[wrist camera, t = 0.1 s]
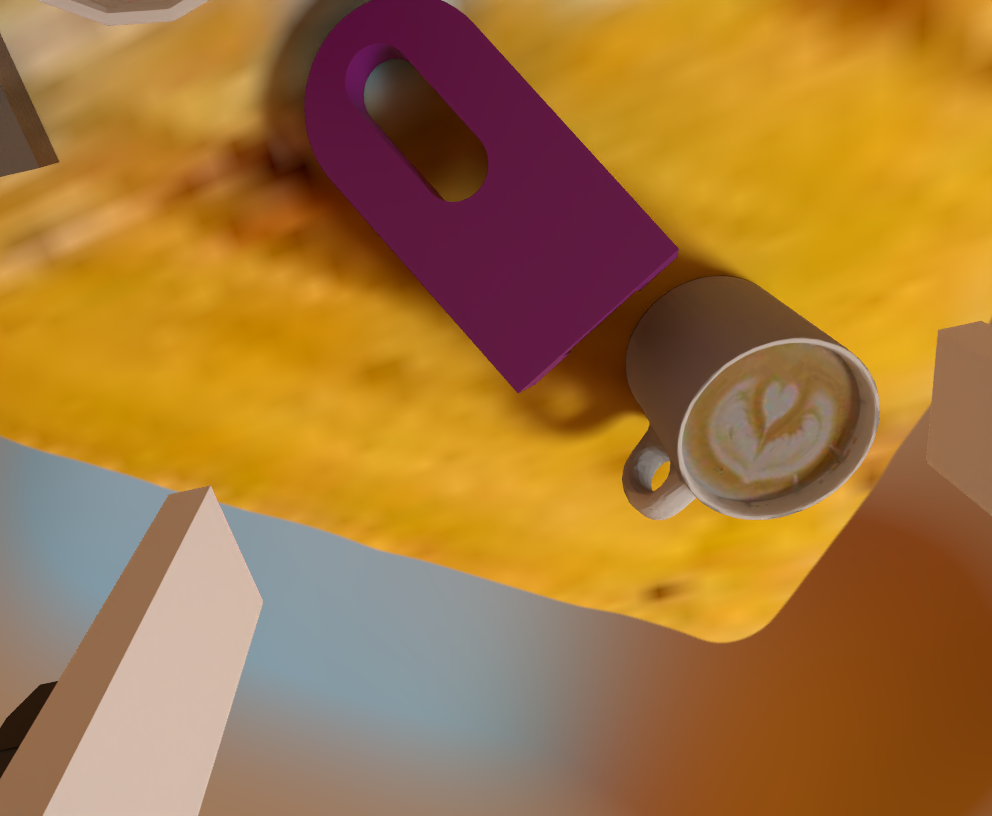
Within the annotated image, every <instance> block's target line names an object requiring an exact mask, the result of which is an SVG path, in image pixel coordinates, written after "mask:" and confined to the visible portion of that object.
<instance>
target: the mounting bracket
mask: <svg viewBox="0 0 992 816" xmlns="http://www.w3.org/2000/svg"><path fill="white" fill-rule="evenodd" d="M391 59H402V60H405V61H408V62H410V63H411V64H412V65H413V66H414V67H415V68H416V69H417V71H418V72H419V73H420V74H421V75H422V76H423V77H424V78H425V79H426V81H427V82H428V83H429V84H430V85H431V86H432V87H433V88H434V89H435V91H436V92H437V93H438V94H439V95H440V96H441V97H442V98H443V100H444V101H445V102H446V103H447V104H448V105H449V106H450V107H451V108H452V110H453V111H454V112H455V113H456V114H457V115H458V116H459V117H460V118H461V120H462V121H463V122H464V123H465V124H466V125H467V126H468V127H469V128H470V130H471V131H472V132H473V133H474V134H475V135H476V136H477V137H478V138H479V140H480V141H481V142H482V144H483V145H484V147H485V150H486V152H487V156H488V171H487V175H486V178H485V181H484V183H483V184H482V186H481V187H480V189H479V190H478V191H477V192H476V193H475V194H474V195H472V196H471V197H469V198H467V199H465V200H462V201H458V202H448V201H445V200H444V199H443V198H442V197H441V196H440V195H439V193H438V192H437V191H436V190H435V189H434V188H433V187H432V186H431V184H430V183H429V182H428V181H427V180H426V179H425V178H424V177H423V175H422V174H421V173H420V172H419V171H418V170H417V169H416V168H415V166H414V165H413V164H412V163H411V162H410V161H409V160H408V159H407V157H406V156H405V155H404V154H403V153H402V152H401V151H400V150H399V148H398V147H397V146H396V145H395V144H394V143H393V142H392V141H391V139H390V138H389V137H388V136H387V135H386V134H385V133H384V132H383V130H382V129H381V128H380V127H379V126H378V125H377V124H376V123H375V121H374V120H373V119H372V118H371V117H370V115H369V114H368V112H367V110H366V107H365V104H364V87H365V83H366V81H367V78H368V76H369V75H370V73H371V72H372V71H373V69H374V68H375V67H377V66H378V65H379V64H381V63H382V62H384V61H387V60H391ZM304 110H305V123H306V129H307V134H308V138H309V141H310V144H311V147H312V150H313V152H314V155H315V157H316V159H317V161H318V163H319V164H320V166H321V168H322V169H323V171H324V172H325V174H326V175H327V176H328V177H329V179H330V180H331V181H332V182H333V183H334V185H335V186H336V187H337V188H338V189H339V190H340V191H341V193H342V194H343V195H344V196H345V197H346V198H347V199H348V200H349V202H350V203H351V204H352V205H353V206H354V207H355V208H356V210H357V211H358V212H359V213H360V214H361V215H362V216H363V218H364V219H365V220H366V221H367V222H368V223H369V224H370V226H371V227H372V228H373V229H374V230H375V231H376V232H377V233H378V235H379V236H380V237H381V238H382V239H383V240H384V241H385V243H386V244H387V245H388V246H389V247H390V248H391V249H392V251H393V252H394V253H395V254H396V255H397V256H398V257H399V259H400V260H401V261H402V262H403V263H404V264H405V265H406V266H407V268H408V269H409V270H410V271H411V272H412V273H413V274H414V276H415V277H416V278H417V279H418V280H419V281H420V282H421V284H422V285H423V286H424V287H425V288H426V289H427V290H428V292H429V293H430V294H431V295H432V296H433V297H434V298H435V299H436V301H437V302H438V303H439V304H440V305H441V306H442V307H443V309H444V310H445V311H446V312H447V313H448V314H449V315H450V317H451V318H452V319H453V320H454V321H455V322H456V323H457V324H458V326H459V327H460V328H461V329H462V330H463V331H464V332H465V334H466V335H467V336H468V337H469V338H470V339H471V340H472V342H473V343H474V344H475V345H476V346H477V347H478V348H479V350H480V351H481V352H482V353H483V354H484V355H485V356H486V357H487V359H488V360H489V361H490V362H491V363H492V364H493V365H494V367H495V368H496V369H497V370H498V371H499V372H500V373H501V375H502V376H503V377H504V378H505V379H506V380H507V381H508V383H509V384H510V385H511V386H512V387H513V388H514V389H515V390H516V392H517V393H520V392H522V391H524V390H526V389H527V388H529V387H531V386H533V385H535V384H536V383H537V382H538V381H539V380H541V379H542V378H543V377H544V376H545V375H546V374H547V373H548V372H549V371H551V370H552V369H553V368H554V367H555V366H556V365H557V364H558V363H560V362H561V361H562V360H563V359H564V358H565V357H566V356H567V355H568V354H570V352H571V351H570V349H572V348H573V347H574V346H575V345H576V344H577V343H578V342H579V341H581V340H582V339H583V338H584V337H585V336H586V335H587V334H588V333H589V332H591V331H592V330H593V329H594V328H595V327H596V326H597V325H598V324H599V323H601V322H602V321H603V320H604V319H605V318H606V317H607V316H608V315H609V314H611V313H612V312H613V311H614V310H615V309H616V308H617V307H618V306H620V305H621V304H622V303H623V302H624V301H625V300H626V299H627V298H628V297H630V296H631V295H632V294H633V293H634V292H635V291H636V290H639V291H640V290H641V289H642V288H643V287H644V286H645V285H647V284H648V283H649V282H650V281H651V280H652V279H653V278H654V277H656V276H657V275H658V274H659V273H660V272H661V271H662V270H663V269H664V268H666V267H667V266H668V265H669V264H670V263H671V262H672V261H673V260H674V259H676V258H677V255H678V251H679V249H678V248H677V247H676V245H675V244H674V243H673V242H672V241H671V240H670V239H669V238H668V237H667V236H666V234H665V233H664V232H663V231H662V230H661V229H660V228H659V227H658V226H657V225H656V223H655V222H654V221H653V220H652V219H651V218H650V217H649V216H648V215H647V214H646V212H645V211H644V210H643V209H642V208H641V207H640V206H639V205H638V204H637V203H636V201H635V200H634V199H633V198H632V197H631V196H630V195H629V194H628V193H627V192H626V190H625V189H624V188H623V187H622V186H621V185H620V184H619V183H618V182H617V181H616V179H615V178H614V177H613V176H612V175H611V174H610V173H609V172H608V171H607V170H606V168H605V167H604V166H603V165H602V164H601V163H600V162H599V161H598V160H597V159H596V157H595V156H594V155H593V154H592V153H591V152H590V151H589V150H588V149H587V148H586V146H585V145H584V144H583V143H582V142H581V141H580V140H579V139H578V138H577V137H576V135H575V134H574V133H573V132H572V131H571V130H570V129H569V128H568V127H567V126H566V124H565V123H564V122H563V121H562V120H561V119H560V118H559V117H558V116H557V115H556V113H555V112H554V111H553V110H552V109H551V108H550V107H549V106H548V105H547V104H546V102H545V101H544V100H543V99H542V98H541V97H540V96H539V95H538V94H537V93H536V91H535V90H534V89H533V88H532V87H531V86H530V85H529V84H528V83H527V82H526V80H525V79H524V78H523V77H522V76H521V75H520V74H519V73H518V72H517V71H516V69H515V68H514V67H513V66H512V65H511V64H510V63H509V62H508V61H507V60H506V58H505V57H504V56H503V55H502V54H501V53H500V52H499V51H498V50H497V49H496V47H495V46H494V45H493V44H492V43H491V42H490V41H489V40H488V39H487V38H486V36H485V35H484V34H483V33H482V32H481V31H480V30H479V29H478V28H477V27H476V25H475V24H474V23H473V22H472V21H471V20H470V19H469V18H468V17H467V16H466V15H464V14H463V13H462V12H460V11H459V10H458V9H456V8H455V7H453V6H451V5H450V4H448V3H446V2H444V1H441V0H372V1H370V2H368V3H366V4H363V5H362V6H360V7H358V8H357V9H355V10H354V11H352V12H351V13H350V14H348V15H347V16H346V17H345V18H343V19H342V20H341V21H340V22H339V23H338V24H337V25H336V26H335V28H334V29H333V30H332V31H331V32H330V33H329V35H328V36H327V38H326V39H325V41H324V42H323V43H322V45H321V47H320V49H319V51H318V53H317V55H316V57H315V59H314V62H313V64H312V67H311V70H310V73H309V76H308V81H307V85H306V93H305V109H304Z"/></svg>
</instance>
